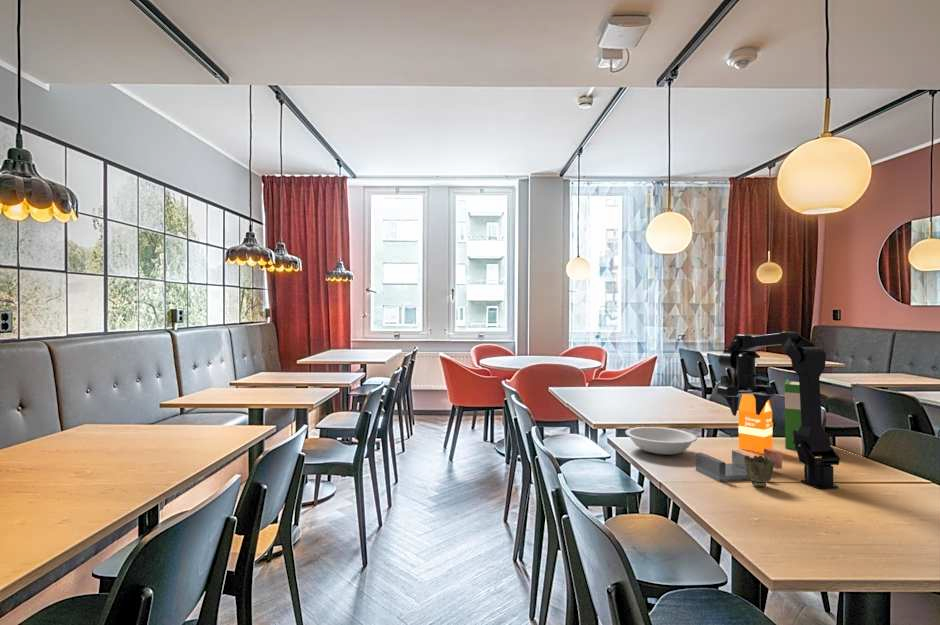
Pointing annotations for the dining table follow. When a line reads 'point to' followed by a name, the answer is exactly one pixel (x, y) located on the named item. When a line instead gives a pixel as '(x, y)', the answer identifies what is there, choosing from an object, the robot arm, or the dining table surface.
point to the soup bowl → (661, 439)
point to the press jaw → (739, 457)
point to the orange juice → (754, 425)
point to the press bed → (729, 473)
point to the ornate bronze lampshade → (759, 470)
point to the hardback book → (792, 412)
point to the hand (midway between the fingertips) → (746, 415)
